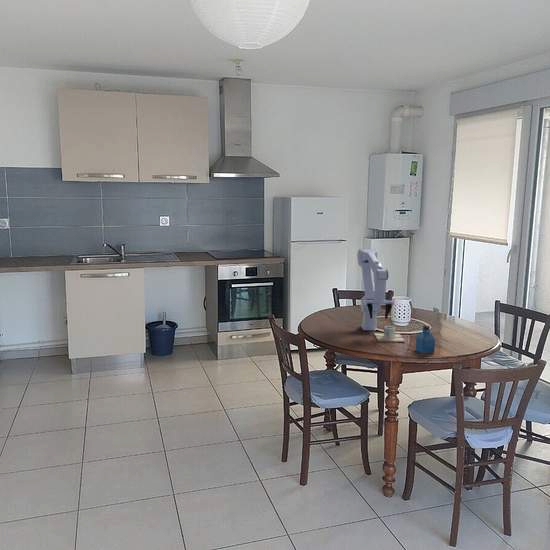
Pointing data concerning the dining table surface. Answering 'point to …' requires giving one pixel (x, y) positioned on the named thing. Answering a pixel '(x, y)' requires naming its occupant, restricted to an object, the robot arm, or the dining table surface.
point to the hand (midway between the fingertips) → (378, 318)
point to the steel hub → (389, 332)
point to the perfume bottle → (425, 341)
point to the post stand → (381, 338)
